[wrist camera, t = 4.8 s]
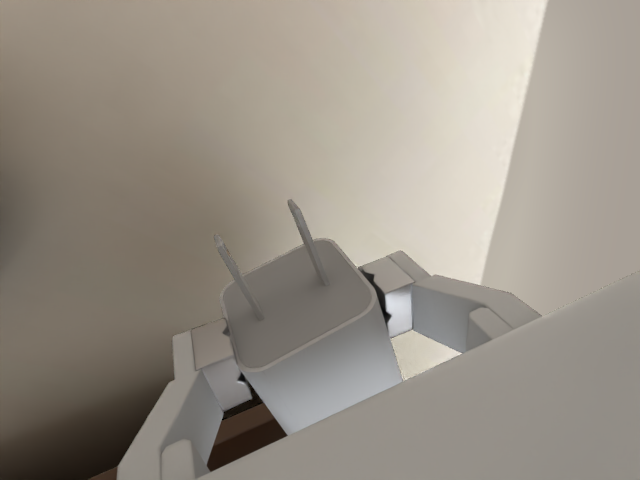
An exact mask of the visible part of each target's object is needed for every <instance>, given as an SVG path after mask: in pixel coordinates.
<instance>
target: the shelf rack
mask: <svg viewBox="0 0 640 480" xmlns="http://www.w3.org/2000/svg"><path fill="white" fill-rule="evenodd" d="M286 436H288V435H287V434H286V433H285V431H284V430H283V428H282V427H281V426H280V424H279V423H278V421H277V420H276V419H275V417H274V416H273V415H272V413H271V412H270V410H269V409H268V408H267V406H266V405H265V403H262V404H260V405H257V406H255V407H253V408H250V409H248V410H246V411H244V412H241V413H239V414H237V415H234V416H232V417H230V418H227V419H225V420H223V421H221V424H220V426H219V429H218V432H217V435H216V438H215V441H214V444H213V447H212V450H211V453H210V456H209V459H208V462H207V465H206V466H207V467H208V469H209V470H210V472H212V471H214V470H216V469H218V468H220V467H223V466H225V465H227V464H229V463H231V462H233V461H235V460H237V459H240V458H242V457H244V456H246V455H248V454H250V453H252V452H254V451H257V450H259V449H261V448H263V447H265V446H267V445H269V444H271V443H274V442H276V441H278V440H280V439H282V438H284V437H286ZM117 469H118V466H117V467H115V468H113V469H110V470H108V471H106V472H103V473H101V474H99V475H96V476H94V477H92V478H90V479H87V480H117Z"/></svg>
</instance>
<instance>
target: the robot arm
mask: <svg viewBox="0 0 640 480" xmlns="http://www.w3.org/2000/svg"><path fill="white" fill-rule="evenodd" d="M358 270H359V271H360V272H361V273H362V274H363V275H364V277H365V278H366V279H367V280H368V281H369V282H370V284H371V285H372V286H373V287H374V289H375V291H376V294H377V297H378V301H379V304H380V307H381V311H382V314H383V317H384V320H385V324H386V327H387V330H388V333H389V337H390V338H393V337H395V336H398V335H400V334H403V333H405V332H407V331H410V330H412V329H413V331H416V332H418V333H420V334H422V335H424V336H426V337H428V338H431V339H433V340H435V341H437V342H439V343H441V344H444V345H446V346H448V347H450V348H452V349H454V350H456V351H459V352H461V353H463V354H461V355H459V356H456V357H454V358H452V359H450V360H448V361H446V362H444V363H441V364H439V365H437V366H435V367H433V368H431V369H429V370H427V371H424V372H422V373H420V374H418V375H416V376H414V377H412V378H410V379H407V380H405V381H403V382H401V383H399V384H397V385H395V386H393V387H390V388H388V389H386V390H384V391H382V392H380V393H378V394H376V395H373V396H371V397H369V398H367V399H365V400H363V401H361V402H359V403H356V404H354V405H352V406H350V407H348V408H346V409H344V410H342V411H339V412H337V413H335V414H333V415H331V416H329V417H327V418H325V419H322V420H320V421H318V422H316V423H314V424H312V425H310V426H308V427H305V428H303V429H301V430H299V431H297V432H295V433H293V434H291V435H288V436H286V437H284V438H282V439H280V440H278V441H276V442H274V443H271V444H269V445H267V446H265V447H263V448H261V449H259V450H257V451H254V452H252V453H250V454H248V455H246V456H244V457H242V458H240V459H237V460H235V461H233V462H231V463H229V464H227V465H225V466H223V467H220V468H218V469H216V470H214V471H212V472H210V470H209V469H208V467H207V466H206V465H207V462H208V459H209V456H210V453H211V450H212V447H213V444H214V441H215V438H216V435H217V432H218V429H219V426H220V424H221V421H222V418H223V415H224V413H223V412H224V411H227V410H229V409H231V408H233V407H235V406H237V405H239V404H242V403H244V402H246V401H248V400H250V399H252V395H251V391H250V387H249V383H248V380H247V379H246V377H245V376H244V374H243V373H242V372H241V370H240V369H239V368H238V366H237V364H238V361H237V357H236V353H235V349H234V345H233V343H232V341H231V338H230V330H229V326H228V323H227V319H226V318H222V319H219V320H216V321H213V322H210V323H208V324H205V325H202V326H199V327H196V328H193V329H191V330H188V331H186V332H183V333H180V334H177V335H175V336H173V339H172V348H173V364H174V380H173V381H171V382H169V383H168V385H167V386H166V388H165V390H164V391H163V393H162V395H161V396H160V398H159V399H158V401H157V403H156V404H155V406H154V408H153V409H152V411H151V413H150V414H149V416H148V417H147V419H146V421H145V422H144V424H143V426H142V427H141V429H140V431H139V432H138V434H137V435H136V437H135V439H134V440H133V442H132V444H131V445H130V447H129V448H128V450H127V452H126V453H125V455H124V457H123V458H122V460H121V462H120V463H119V465H118V469H117V480H640V270H639V271H637V272H635V273H633V274H631V275H629V276H626V277H624V278H622V279H620V280H618V281H616V282H614V283H612V284H609V285H607V286H605V287H603V288H601V289H599V290H597V291H595V292H593V293H590V294H589V295H586V296H584V297H582V298H580V299H578V300H575V301H573V302H571V303H569V304H567V305H565V306H563V307H561V308H558V309H556V310H554V311H552V312H550V313H548V314H546V315H544V316H542V315H540V314H539V313H538V312H536V311H535V310H533V309H532V308H531V307H529V306H528V305H527V304H525V303H524V302H523V301H521V300H520V299H518V298H517V297H516V296H514V295H513V294H512V293H509V292H505V291H501V290H496V289H492V288H488V287H484V286H480V285H476V284H472V283H468V282H464V281H459V280H455V279H451V278H447V277H443V276H439V275H433V276H430V275H429V274H428V273H427V272H426V271H425V270H424V269H422V268H421V267H420V266H419V265H418V264H417V263H416V262H414V261H413V260H412V259H411V258H410V257H409V256H408V255H406V254H405V253H404V252H403V251H397V252H395V253H392V254H390V255H387V256H386V257H383V258H381V259H378V260H376V261H373V262H370V263H368V264H365V265H363V266H360V267H358Z"/></svg>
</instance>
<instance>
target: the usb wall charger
mask: <svg viewBox="0 0 640 480" xmlns="http://www.w3.org/2000/svg"><path fill="white" fill-rule="evenodd" d="M288 205H289V208H290V210H291V213H292V215H293V217H294V220H295V222H296V225H297V227H298V230H299V232H300V235H301V237H302V239H303V242H304V244H302V245H300V246H298V247H296V248H294V249H292V250H290V251H288V252H287V253H285V254H283V255H281V256H279V257H277V258H275V259H273V260H271V261H269V262H267V263H265V264H263V265H261V266H259V267H257V268H255V269H253V270H251V271H249V272H247V273H245V274H243V275H242V274H241V272H240V270H239V268H238V267H237V265H236V263H235V261H234V260H233V258H232V256H231V255H230V253H229V251H228V249H227V248H226V246H225V244H224V243H223V241H222V239H221V238H220V236H219V235H215V236H214V239H215V242H216V246H217V249H218V251H219V253H220V255H221V257H222V258H223V260H224V262H225V263H226V265H227V267H228V269H229V270H230V272H231V274H232V276H233V277H234V279H233V280H232V281H231V282H229V283H228V284H227V285H226V286H225V288H224V289H223V290H222V292H221V295H220V304H221V308H222V312H223V316H224V318H226V319H227V323H228V326H229V330H230V338H231V341H232V343H233V345H234V349H235V353H236V357H237V361H238V364H237V366H238V368H239V369H240V370H241V372H242V373H243V374H244V376H245V377H246V379H247V380H248V381H249V383H250V384H251V385H252V387H253V388H254V390H255V391H256V392H257V394H258V395H259V397H260V398H261V399H262V401H263V402H264V403H265V405H266V406H267V408H268V409H269V410H270V412H271V413H272V415H273V416H274V417H275V419H276V420H277V421H278V423H279V424H280V426H281V427H282V428H283V430H284V431H285V433H286V434H287V435H291V434H293V433H295V432H297V431H299V430H301V429H303V428H305V427H308V426H310V425H312V424H314V423H316V422H318V421H320V420H322V419H325V418H327V417H329V416H331V415H333V414H335V413H337V412H339V411H342V410H344V409H346V408H348V407H350V406H352V405H354V404H356V403H359V402H361V401H363V400H365V399H367V398H369V397H371V396H373V395H376V394H378V393H380V392H382V391H384V390H386V389H388V388H390V387H393V386H395V385H397V384H399V383H401V382H403V379H402V376H401V373H400V370H399V366H398V363H397V360H396V356H395V353H394V350H393V347H392V343H391V340H390V337H389V333H388V330H387V327H386V324H385V320H384V317H383V314H382V311H381V307H380V304H379V301H378V297H377V294H376V291H375V289H374V287H373V286H372V285H371V284H370V282H369V281H368V280H367V279H366V278H365V277H364V275H363V274H362V273H361V272H360V271H359V270H358V268H357V267H356V266H355V265H354V264H353V263H352V261H351V260H350V259H349V258H348V257H347V256H346V254H345V253H344V252H343V251H342V250H341V249H340V248H339V246H338V245H337V244H336V243H335V242H334V241H333V240H330V239H326V238H320V239H314V240H312V237H311V235H310V232H309V230H308V228H307V225H306V223H305V220H304V218H303V215H302V213H301V211H300V209H299V208H298V207H297V206H296V204H295V203H294V202H293V201H292V200H291V199H289V200H288Z"/></svg>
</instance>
